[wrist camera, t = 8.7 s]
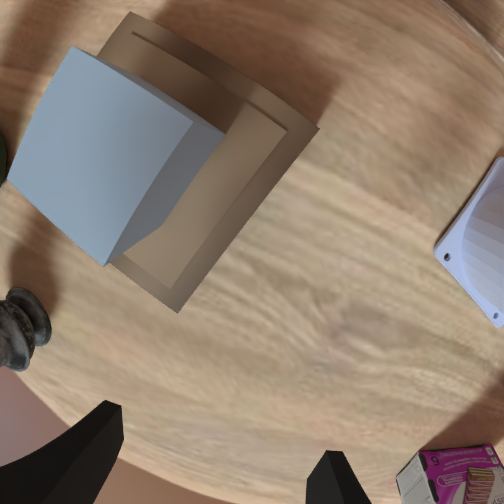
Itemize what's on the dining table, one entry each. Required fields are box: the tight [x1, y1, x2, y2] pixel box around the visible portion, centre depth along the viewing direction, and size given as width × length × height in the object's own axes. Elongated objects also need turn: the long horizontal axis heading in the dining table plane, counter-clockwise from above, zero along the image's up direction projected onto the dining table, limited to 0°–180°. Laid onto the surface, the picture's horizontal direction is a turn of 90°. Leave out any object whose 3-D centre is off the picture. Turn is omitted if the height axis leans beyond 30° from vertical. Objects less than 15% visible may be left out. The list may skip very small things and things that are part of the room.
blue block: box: [7, 46, 226, 267], centre depth 11 cm, size 5×5×6 cm
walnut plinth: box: [97, 12, 320, 314], centre depth 15 cm, size 11×11×3 cm
